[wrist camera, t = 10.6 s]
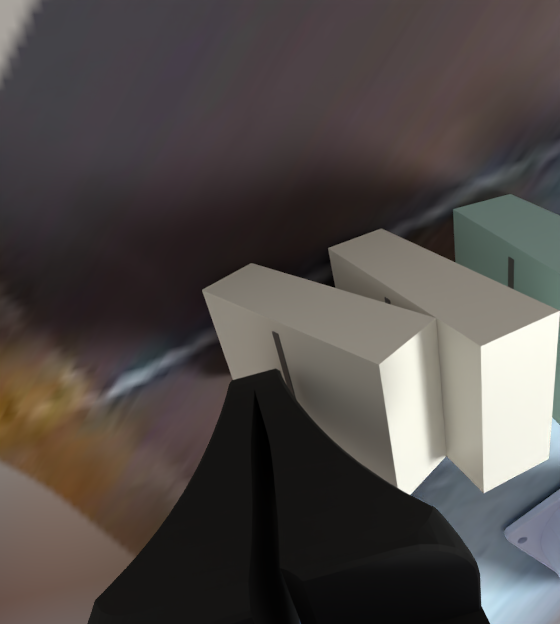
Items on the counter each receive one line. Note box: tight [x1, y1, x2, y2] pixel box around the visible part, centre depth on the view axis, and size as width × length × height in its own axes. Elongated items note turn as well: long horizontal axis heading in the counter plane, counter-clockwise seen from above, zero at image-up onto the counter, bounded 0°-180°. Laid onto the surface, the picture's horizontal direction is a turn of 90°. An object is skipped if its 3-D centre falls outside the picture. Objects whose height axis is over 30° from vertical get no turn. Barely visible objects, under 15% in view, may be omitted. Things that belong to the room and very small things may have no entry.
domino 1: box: [202, 263, 446, 495], centre depth 14 cm, size 2×4×7 cm
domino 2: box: [328, 228, 560, 493], centre depth 14 cm, size 2×4×7 cm, turn 13°
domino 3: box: [453, 194, 560, 425], centre depth 14 cm, size 2×4×7 cm, turn 13°
